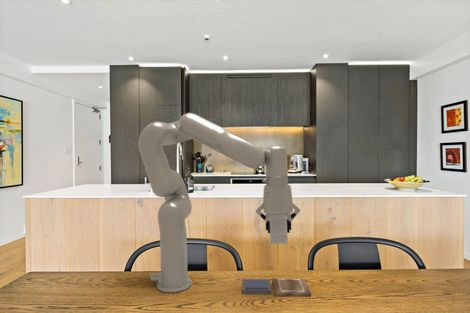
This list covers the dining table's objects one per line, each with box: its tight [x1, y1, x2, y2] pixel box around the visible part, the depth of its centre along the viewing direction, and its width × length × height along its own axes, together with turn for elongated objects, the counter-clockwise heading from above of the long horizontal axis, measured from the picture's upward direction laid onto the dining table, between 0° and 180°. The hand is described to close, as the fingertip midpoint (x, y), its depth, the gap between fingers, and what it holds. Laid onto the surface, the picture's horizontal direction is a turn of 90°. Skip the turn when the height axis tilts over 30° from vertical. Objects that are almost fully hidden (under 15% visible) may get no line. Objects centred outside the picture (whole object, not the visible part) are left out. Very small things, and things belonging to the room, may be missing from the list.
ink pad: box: [241, 278, 273, 295], centre depth 111 cm, size 10×9×2 cm
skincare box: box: [269, 214, 289, 245], centre depth 110 cm, size 6×4×12 cm
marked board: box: [271, 278, 312, 298], centre depth 110 cm, size 12×12×1 cm
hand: (278, 231), depth 110 cm, fingers closed on skincare box, 6 cm apart
